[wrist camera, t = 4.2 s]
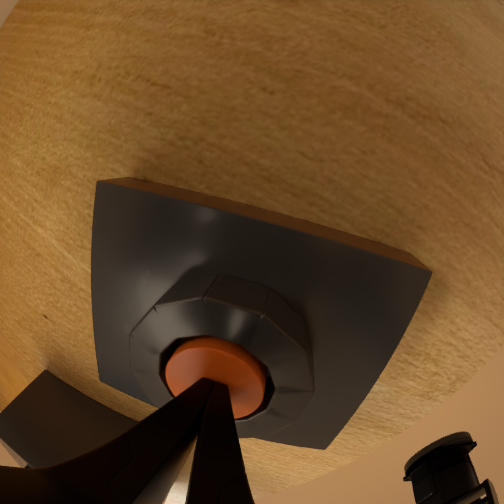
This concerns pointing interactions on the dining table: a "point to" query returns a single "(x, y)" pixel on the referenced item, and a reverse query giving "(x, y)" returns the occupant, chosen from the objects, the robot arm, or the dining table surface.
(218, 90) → the dining table surface
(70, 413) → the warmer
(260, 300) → the control
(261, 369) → the button
